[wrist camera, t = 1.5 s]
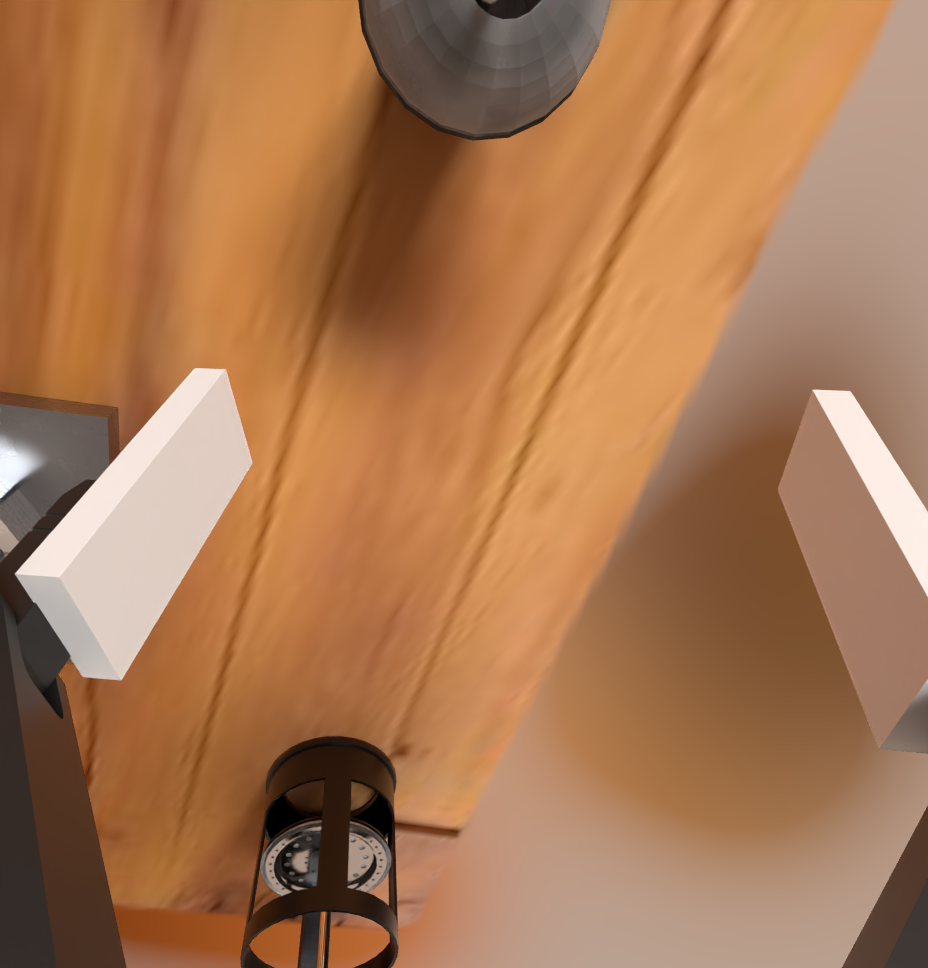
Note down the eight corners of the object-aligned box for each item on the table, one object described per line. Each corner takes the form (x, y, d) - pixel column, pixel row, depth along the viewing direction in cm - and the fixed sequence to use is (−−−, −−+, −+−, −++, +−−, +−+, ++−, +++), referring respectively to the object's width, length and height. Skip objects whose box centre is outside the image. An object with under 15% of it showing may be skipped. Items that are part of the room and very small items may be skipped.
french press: (274, 724, 46) (193, 1187, 25) (408, 733, 48) (433, 1170, 27) (259, 836, 51) (181, 1300, 30) (381, 840, 53) (385, 1278, 32)
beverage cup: (560, 42, 30) (836, -115, 12) (455, 178, 32) (558, 216, 14) (434, -100, 27) (552, -581, 9) (328, 59, 29) (256, -84, 11)
